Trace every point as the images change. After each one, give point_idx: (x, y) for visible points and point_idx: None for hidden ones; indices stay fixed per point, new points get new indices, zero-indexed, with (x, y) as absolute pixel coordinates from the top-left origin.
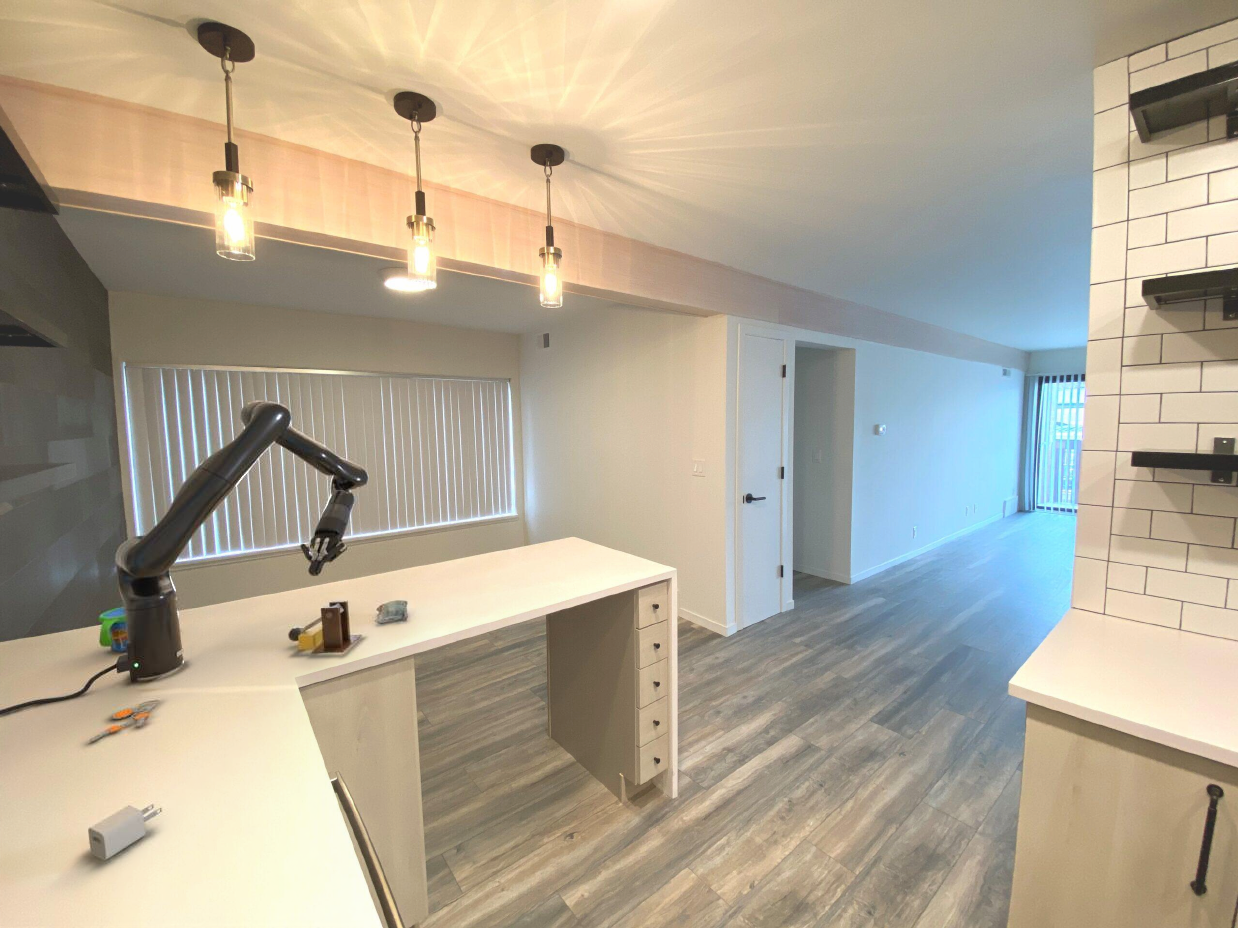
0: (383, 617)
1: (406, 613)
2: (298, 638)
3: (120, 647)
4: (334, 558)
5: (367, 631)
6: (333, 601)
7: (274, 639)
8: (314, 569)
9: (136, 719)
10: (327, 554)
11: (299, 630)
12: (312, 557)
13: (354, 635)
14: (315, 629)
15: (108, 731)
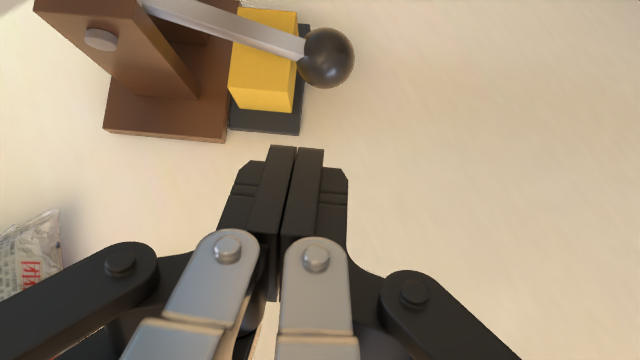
0: (20, 232)
1: None
2: (296, 17)
3: None
4: (79, 346)
5: (109, 201)
6: (114, 9)
7: (463, 184)
8: (275, 159)
9: None
10: (109, 292)
11: (306, 40)
12: (343, 279)
13: (129, 123)
14: (252, 67)
15: None
